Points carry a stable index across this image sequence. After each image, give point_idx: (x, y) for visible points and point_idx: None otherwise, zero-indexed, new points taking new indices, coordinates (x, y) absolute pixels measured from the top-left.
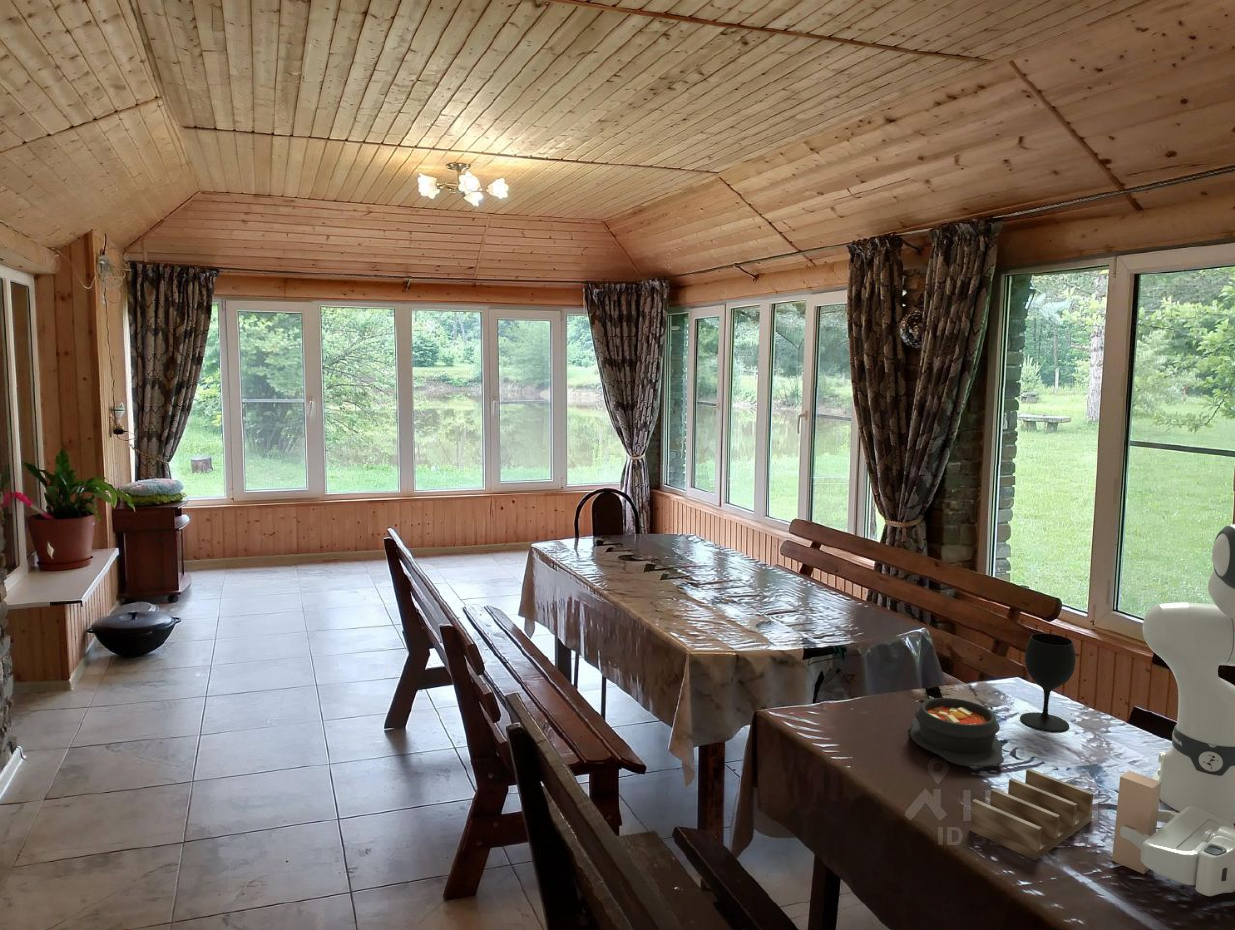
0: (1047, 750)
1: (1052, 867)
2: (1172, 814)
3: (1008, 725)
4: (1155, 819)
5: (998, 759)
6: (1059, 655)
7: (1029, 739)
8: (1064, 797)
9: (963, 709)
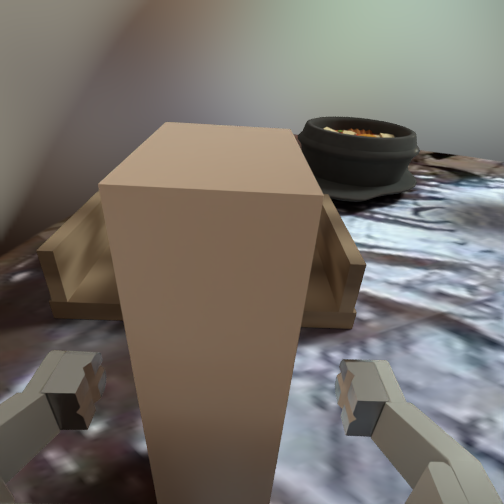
0: (494, 225)
1: (38, 348)
2: (435, 478)
3: (483, 192)
4: (249, 429)
5: (356, 195)
6: None
7: (487, 209)
8: (329, 258)
9: (389, 136)
